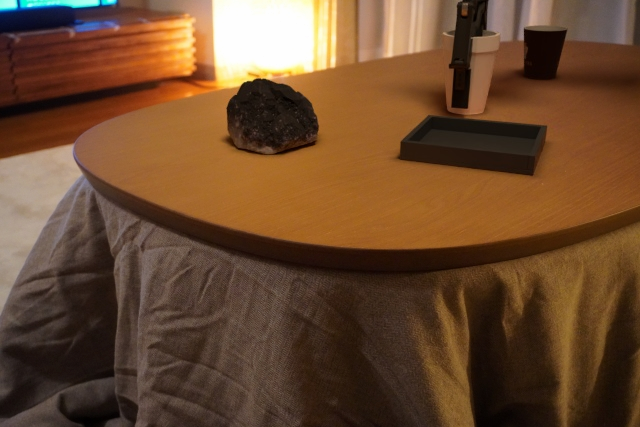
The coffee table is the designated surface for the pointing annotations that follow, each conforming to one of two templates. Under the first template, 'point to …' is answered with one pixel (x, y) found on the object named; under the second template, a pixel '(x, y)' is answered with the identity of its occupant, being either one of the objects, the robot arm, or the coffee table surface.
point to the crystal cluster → (270, 117)
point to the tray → (475, 144)
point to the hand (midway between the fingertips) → (466, 100)
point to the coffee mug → (542, 51)
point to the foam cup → (472, 69)
